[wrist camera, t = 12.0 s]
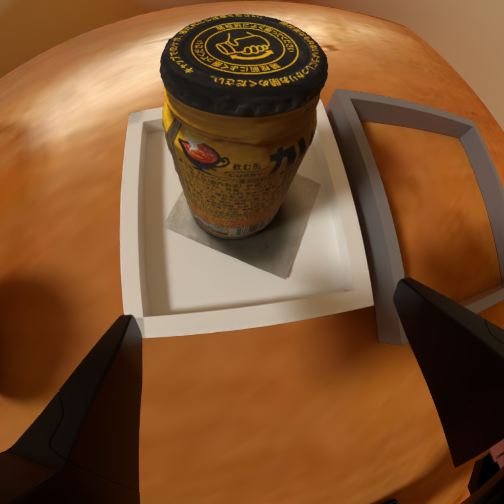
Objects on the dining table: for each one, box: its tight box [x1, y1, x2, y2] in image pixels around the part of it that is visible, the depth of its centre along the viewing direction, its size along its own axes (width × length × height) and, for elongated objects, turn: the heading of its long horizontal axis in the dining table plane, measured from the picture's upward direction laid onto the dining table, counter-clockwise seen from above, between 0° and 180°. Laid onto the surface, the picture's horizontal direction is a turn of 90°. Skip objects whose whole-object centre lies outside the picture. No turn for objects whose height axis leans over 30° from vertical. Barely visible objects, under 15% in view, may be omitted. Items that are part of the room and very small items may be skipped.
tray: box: [120, 99, 374, 338], centre depth 18 cm, size 16×15×2 cm
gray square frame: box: [325, 89, 504, 346], centre depth 19 cm, size 20×20×3 cm
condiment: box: [160, 14, 328, 280], centre depth 12 cm, size 7×8×12 cm
